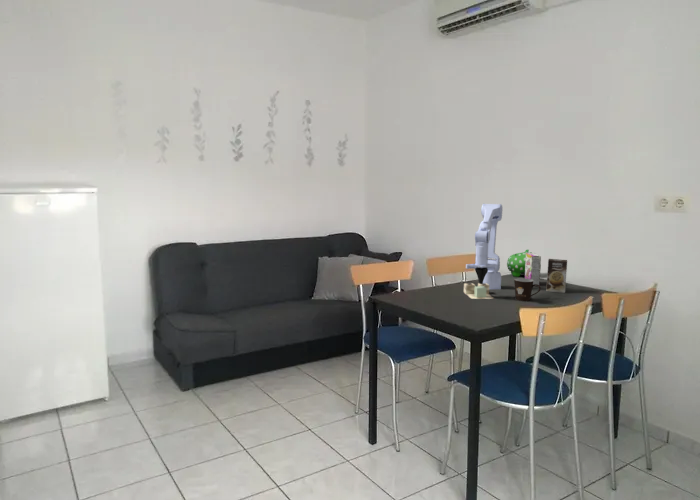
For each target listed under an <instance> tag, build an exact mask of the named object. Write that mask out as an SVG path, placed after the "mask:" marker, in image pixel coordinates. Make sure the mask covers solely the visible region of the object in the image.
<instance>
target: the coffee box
mask: <svg viewBox="0 0 700 500" xmlns="http://www.w3.org/2000/svg"><path fill="white" fill-rule="evenodd" d="M547 260H548V261H547V276H546V287H545V288H546V289H545V290H546V291H545V292H552V293H553V292H554V293H563V294H564V293H566V285H567V271H568V259H559V258H557V259H556V258H548V259H547Z"/></svg>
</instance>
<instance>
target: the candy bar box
mask: <svg viewBox="0 0 700 500" xmlns="http://www.w3.org/2000/svg"><path fill="white" fill-rule="evenodd" d="M541 262H542V256H541V255H539V254H537V253H535V252H532V253H530V252H529V253H526V261H525V276H524V278H527V279H532V280H534V281H533V285H534V284H537V285H539V286H540V285H541V284H540V283H541V281H540V280H541V270H540V266H542V265H541V264H542V263H541ZM534 287H537V286H536V285H535V286H534ZM540 287H541V286H540Z"/></svg>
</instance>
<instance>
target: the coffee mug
mask: <svg viewBox="0 0 700 500" xmlns="http://www.w3.org/2000/svg"><path fill="white" fill-rule="evenodd" d="M513 280H514V281H513V282H514V294H515V300H516V301H519V302H530V301H531V297H533V296H536V294H537V295H538V293H540V291H541V290H542V289H541V286H539V285H537V284H534V285H533V281H534V280H532V279H527V278H525V277H524V278H523V277H520V278H519V277H516V278H514V279H513ZM535 285H536V286H535ZM534 287H538V290H537V292H534V293H533V294H532V291H533V288H534Z"/></svg>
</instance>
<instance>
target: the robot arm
mask: <svg viewBox="0 0 700 500" xmlns="http://www.w3.org/2000/svg"><path fill="white" fill-rule="evenodd" d="M480 210H481V216H482V218H483V220H482V221H480V224H479V226H478V228H477V230H475V234H474V240H475V263H466V264H465V269H467V270H469V269H471V270H473V269H474V271H475V273H476V276H477V280H478V283H479V284H483V283H487V284H489V290H501V289H502V287H501V286H502V274H501V272H500V267H501V261H500V260H501V258H500V256H499V255H498V254H496V252H495V251H496V239H497V230H498V229H497V226H498V222H500V221H502V219H503V205H502V203H482V204H481V209H480Z"/></svg>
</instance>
